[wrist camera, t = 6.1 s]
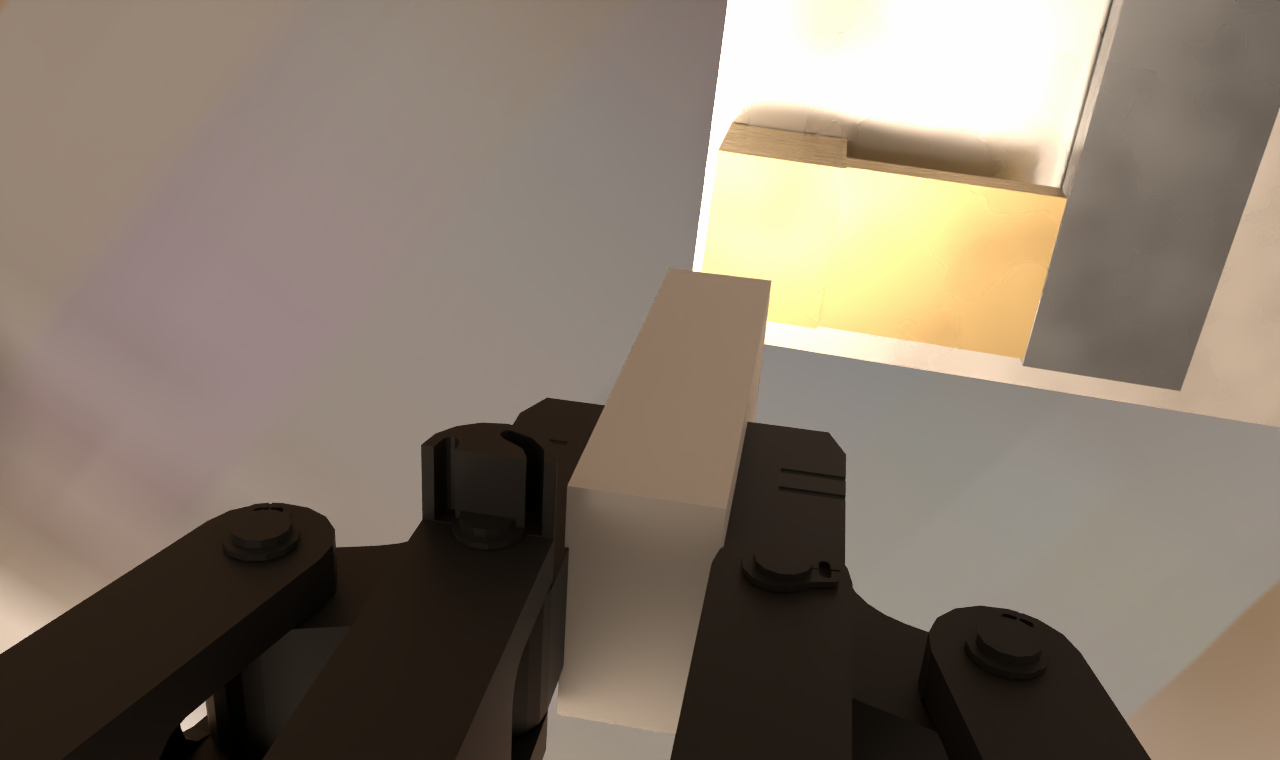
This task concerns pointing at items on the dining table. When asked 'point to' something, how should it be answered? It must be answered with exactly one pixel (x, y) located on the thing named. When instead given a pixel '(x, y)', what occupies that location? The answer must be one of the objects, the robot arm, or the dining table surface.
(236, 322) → the dining table surface
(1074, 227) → the strap
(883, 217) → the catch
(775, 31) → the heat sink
